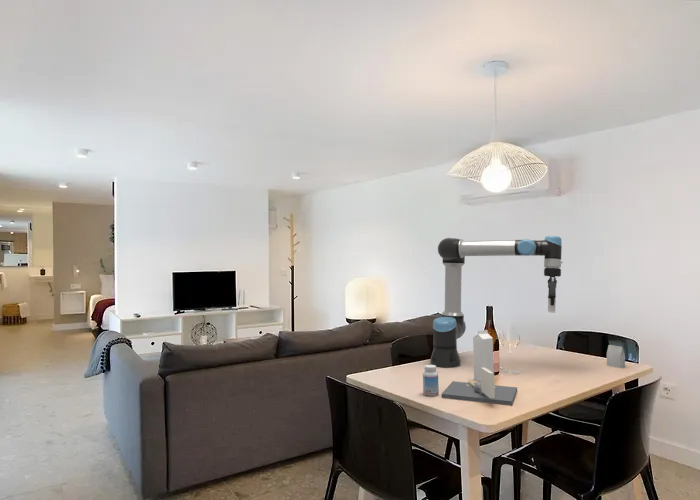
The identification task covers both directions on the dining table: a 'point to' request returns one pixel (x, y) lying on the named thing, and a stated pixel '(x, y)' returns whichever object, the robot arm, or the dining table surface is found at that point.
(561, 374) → the dining table surface
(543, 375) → the dining table surface
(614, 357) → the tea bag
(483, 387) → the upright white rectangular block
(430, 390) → the pill bottle
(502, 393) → the dark grey flat slab
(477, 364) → the milk
